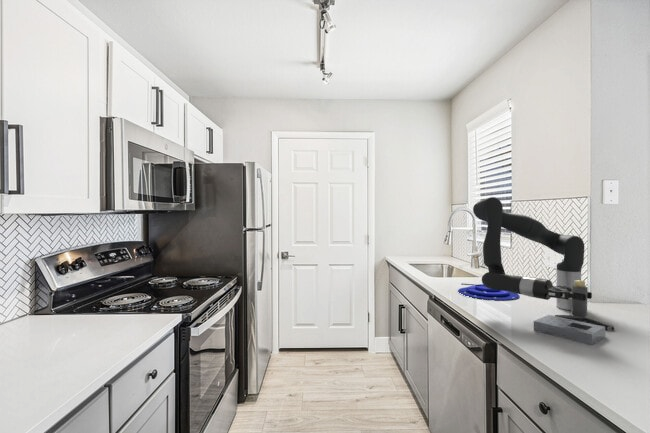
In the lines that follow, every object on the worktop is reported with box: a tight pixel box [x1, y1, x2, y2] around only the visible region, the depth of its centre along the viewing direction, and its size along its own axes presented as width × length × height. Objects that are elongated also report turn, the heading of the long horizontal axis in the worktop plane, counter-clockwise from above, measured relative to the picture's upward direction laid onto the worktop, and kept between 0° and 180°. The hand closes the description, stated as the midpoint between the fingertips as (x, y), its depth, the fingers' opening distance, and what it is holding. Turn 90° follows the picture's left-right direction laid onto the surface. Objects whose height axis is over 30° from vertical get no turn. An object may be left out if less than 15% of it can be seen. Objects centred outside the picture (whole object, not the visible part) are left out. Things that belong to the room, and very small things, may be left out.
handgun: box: [554, 314, 615, 332], centre depth 137 cm, size 2×16×12 cm
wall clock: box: [457, 283, 521, 302], centre depth 189 cm, size 30×6×30 cm
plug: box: [570, 279, 589, 317], centre depth 124 cm, size 4×4×12 cm
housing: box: [533, 314, 606, 346], centre depth 127 cm, size 13×18×4 cm
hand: (588, 296), depth 122 cm, fingers closed on plug, 4 cm apart
